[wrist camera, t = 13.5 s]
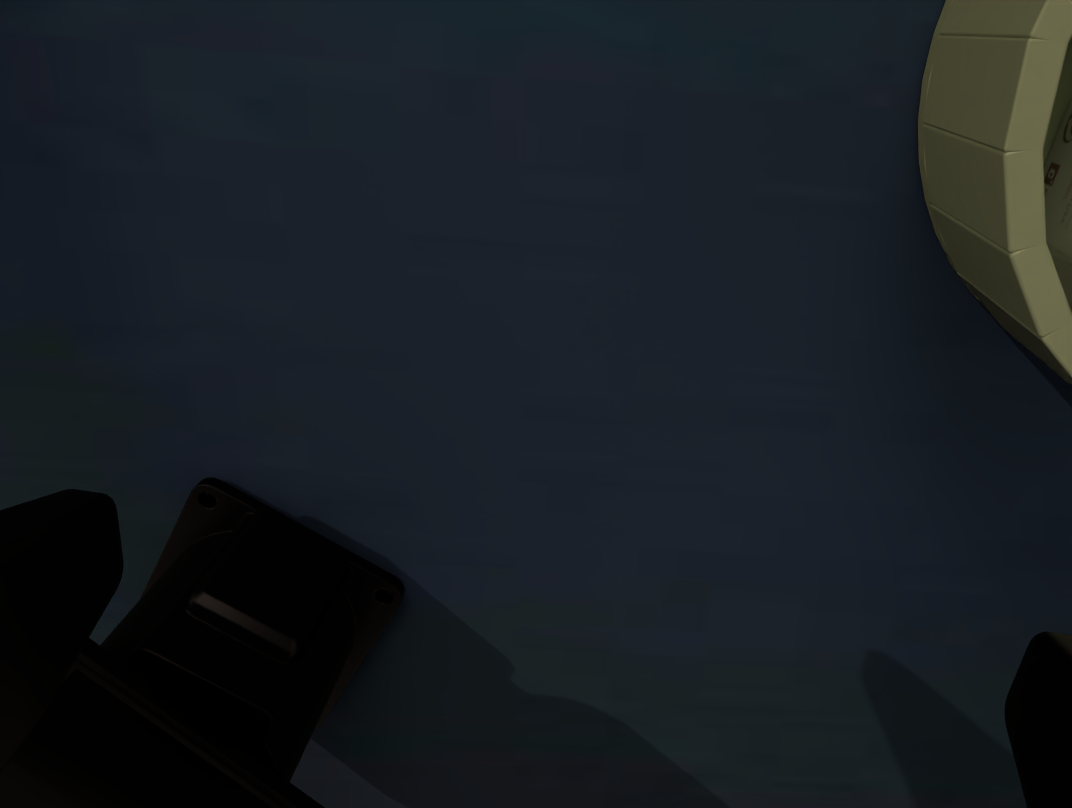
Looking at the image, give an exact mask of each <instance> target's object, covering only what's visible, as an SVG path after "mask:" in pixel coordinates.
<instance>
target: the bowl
mask: <svg viewBox="0 0 1072 808" xmlns="http://www.w3.org/2000/svg"><path fill="white" fill-rule="evenodd" d="M1071 97H1072V0H946V2H945V4H944V7H943V10H942V13H941V15H940V18H939V21H938V23H937V26H936V29H935V32H934V34H933V38H932V42H931V46H930V50H929V55H928V59H927V63H926V67H925V71H924V75H923V80H922V89H921V98H920V107H919V116H918V152H919V166H920V173H921V179H922V185H923V191H924V198H925V201H926V205H927V208H928V211H929V214H930V217H931V220H932V224H933V227H934V230H935V233H936V235H937V237H938V239H939V241H940V243H941V245H942V247H943V249H944V252H945V254H946V256H947V258H948V260H949V262H950V264H951V266H952V267H953V268H954V270H955V271H956V273H957V274H958V275H959V277H960V278H961V280H962V281H963V283H964V284H965V285H966V287H967V288H968V290H969V291H970V293H971V294H972V295H973V296H974V297H975V298H976V299H977V300H978V301H979V302H980V303H981V304H982V305H983V306H984V307H985V308H986V309H987V310H988V311H989V313H990V314H991V315H992V316H993V317H994V319H995V320H996V321H997V322H998V323H999V325H1001V326H1002V327H1003V328H1004V329H1005V330H1006V331H1008V332H1009V333H1010V334H1011V335H1012V336H1013V337H1015V338H1016V339H1017V340H1018V341H1019V342H1021V343H1022V344H1023V345H1024V346H1025V347H1026V348H1028V349H1029V350H1030V351H1031V352H1032V353H1033V354H1035V355H1036V356H1037V357H1038V358H1039V359H1041V360H1042V361H1043V362H1044V363H1045V364H1046V365H1048V366H1049V367H1050V368H1051V369H1052V370H1054V371H1055V372H1056V373H1057V374H1058V375H1059V376H1061V377H1062V378H1063V379H1064V380H1065V381H1067V382H1068V383H1069V384H1070V385H1071V386H1072V264H1071V263H1069V262H1067V261H1065V260H1063V259H1061V258H1060V257H1058V256H1056V255H1054V254H1052V253H1050V251H1049V248H1048V245H1047V242H1046V222H1045V194H1044V166H1043V164H1044V162H1045V160H1046V157H1047V155H1048V153H1049V150H1050V148H1051V145H1052V143H1053V140H1054V138H1055V135H1056V133H1057V131H1058V128H1059V126H1060V123H1061V121H1062V118H1063V116H1064V113H1065V111H1066V109H1067V107H1068V104H1069V102H1070V100H1071Z"/></svg>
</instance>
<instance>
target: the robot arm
mask: <svg viewBox="0 0 1072 808" xmlns="http://www.w3.org/2000/svg"><path fill="white" fill-rule="evenodd" d="M205 492H207V493H210V494H212V495H213V496H214V497H215V499H216V501H212V500H210V499H209V498H208V497H207V495H206V493H205ZM122 573H123V554H122V546H121V539H120V531H119V523H118V515H117V509H116V505H115V503H114V501H113V499H112V498H111V497H109V496H108V495H107V494H103V493H96V492H90V491H83V490H76V489H67V490H63V491H60V492H57V493H54V494H51V495H47V496H44V497H41V498H38V499H35V500H32V501H28V502H25V503H22V504H19V505H16V506H12V507H9V508H6V509H3V510H0V808H325V807H323V806H322V805H320V804H319V803H318V802H316V801H315V800H313V799H312V798H311V797H309V796H308V795H306V794H305V793H304V792H302V791H301V790H300V789H298V788H297V787H295V786H294V785H293V784H291V783H290V780H291V778H292V776H293V774H294V772H295V769H296V767H297V765H298V763H299V761H300V759H301V757H302V755H303V752H304V750H305V748H306V746H307V744H308V742H309V740H310V738H311V735H312V733H313V731H314V729H316V728H318V727H319V726H320V725H321V724H322V722H323V721H324V719H325V718H326V716H327V715H328V713H329V711H330V710H331V708H332V707H333V705H334V704H335V702H336V701H337V699H338V698H339V696H340V695H341V693H342V692H343V690H344V688H345V687H346V685H347V684H348V682H349V681H350V679H351V678H352V676H353V675H354V673H355V672H356V670H357V669H358V667H359V666H360V664H361V662H362V661H363V659H364V658H365V656H366V655H367V653H368V652H369V650H370V649H371V647H372V646H373V644H374V643H375V641H376V640H377V638H378V636H379V635H380V633H381V632H382V630H383V629H384V627H385V626H386V624H387V623H388V621H389V620H390V618H391V617H392V615H393V614H394V612H395V610H396V609H397V607H398V606H399V604H400V602H401V599H402V597H403V594H404V585H403V584H402V582H401V580H399V579H398V578H397V577H396V576H394V575H392V574H390V573H389V572H387V571H385V570H383V569H381V568H379V567H378V566H376V565H374V564H372V563H370V562H369V561H367V560H365V559H363V558H361V557H359V556H358V555H356V554H354V553H352V552H350V551H349V550H347V549H345V548H343V547H341V546H339V545H338V544H336V543H334V542H332V541H330V540H329V539H327V538H325V537H323V536H321V535H319V534H318V533H316V532H314V531H312V530H310V529H308V528H307V527H305V526H303V525H301V524H299V523H298V522H296V521H294V520H292V519H290V518H288V517H287V516H285V515H283V514H281V513H279V512H278V511H276V510H274V509H272V508H270V507H268V506H267V505H265V504H263V503H261V502H259V501H258V500H256V499H254V498H252V497H250V496H248V495H247V494H245V493H243V492H241V491H239V490H238V489H236V488H234V487H232V486H230V485H228V484H227V483H225V482H223V481H221V480H219V479H216V478H206V479H203V480H201V481H200V482H199V483H198V484H197V485H196V486H195V488H194V489H193V490H192V491H191V493H190V495H189V497H188V499H187V501H186V504H185V506H184V508H183V510H182V512H181V514H180V516H179V518H178V521H177V523H176V525H175V527H174V529H173V531H172V533H171V535H170V538H169V540H168V542H167V544H166V546H165V548H164V550H163V552H162V554H161V557H160V559H159V561H158V563H157V565H156V567H155V569H154V571H153V574H152V576H151V578H150V580H149V582H148V584H147V586H146V588H145V591H144V593H143V595H142V597H141V599H140V601H139V602H138V603H137V604H136V605H135V606H134V607H133V609H132V610H131V611H130V612H129V613H128V614H127V615H126V616H125V618H124V619H123V620H122V621H121V622H120V623H119V624H118V626H117V627H116V628H115V629H114V630H113V631H112V632H111V634H110V635H109V636H108V637H107V638H106V639H105V640H104V641H103V643H102V644H101V645H98V644H97V643H95V642H94V641H93V640H91V639H90V638H89V636H90V634H91V633H92V631H93V629H94V628H95V626H96V624H97V622H98V621H99V619H100V617H101V616H102V614H103V612H104V610H105V609H106V607H107V605H108V604H109V602H110V600H111V598H112V597H113V595H114V593H115V592H116V590H117V588H118V586H119V583H120V581H121V577H122ZM379 589H385V590H388V591H389V592H390V593H391V595H384V594H383V593H381V592H380V590H379ZM1005 723H1006V728H1007V732H1008V735H1009V739H1010V743H1011V747H1012V751H1013V755H1014V758H1015V762H1016V766H1017V770H1018V774H1019V778H1020V781H1021V785H1022V789H1023V793H1024V797H1025V801H1026V804H1027V808H1072V635H1067V634H1060V633H1053V632H1042V633H1039V634H1037V635H1035V636H1034V637H1033V639H1032V640H1031V641H1030V643H1029V645H1028V647H1027V649H1026V652H1025V654H1024V657H1023V659H1022V661H1021V664H1020V666H1019V669H1018V671H1017V674H1016V676H1015V678H1014V681H1013V683H1012V686H1011V688H1010V690H1009V693H1008V695H1007V699H1006V703H1005Z"/></svg>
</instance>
